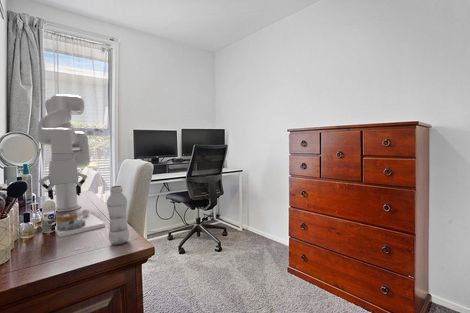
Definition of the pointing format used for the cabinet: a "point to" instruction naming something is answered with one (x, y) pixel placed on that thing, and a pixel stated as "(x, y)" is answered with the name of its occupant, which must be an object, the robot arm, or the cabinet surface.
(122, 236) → the plastic bottle
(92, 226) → the gear board
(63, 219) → the ochre gear
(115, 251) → the cabinet surface
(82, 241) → the cabinet surface
